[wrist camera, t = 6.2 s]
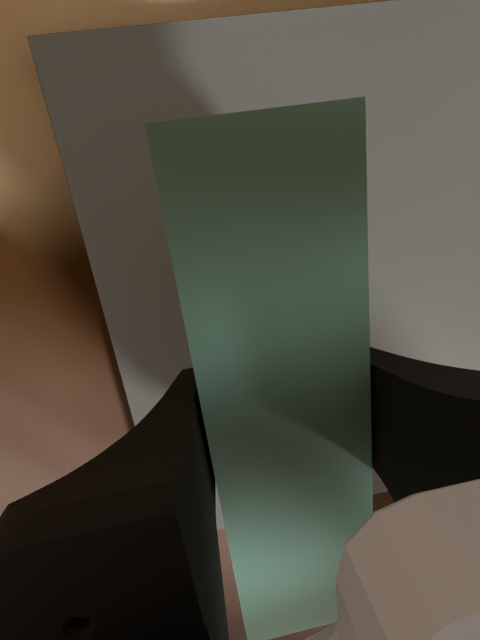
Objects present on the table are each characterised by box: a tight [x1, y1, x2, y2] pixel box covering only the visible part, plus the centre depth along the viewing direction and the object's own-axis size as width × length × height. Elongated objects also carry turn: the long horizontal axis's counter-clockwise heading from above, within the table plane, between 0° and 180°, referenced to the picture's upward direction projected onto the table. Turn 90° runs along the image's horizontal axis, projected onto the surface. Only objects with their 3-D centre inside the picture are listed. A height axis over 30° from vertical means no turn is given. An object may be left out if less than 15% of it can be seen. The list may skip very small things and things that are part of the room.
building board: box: [27, 0, 480, 530], centre depth 16 cm, size 24×26×5 cm
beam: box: [144, 97, 373, 640], centre depth 10 cm, size 14×4×4 cm, turn 7°
